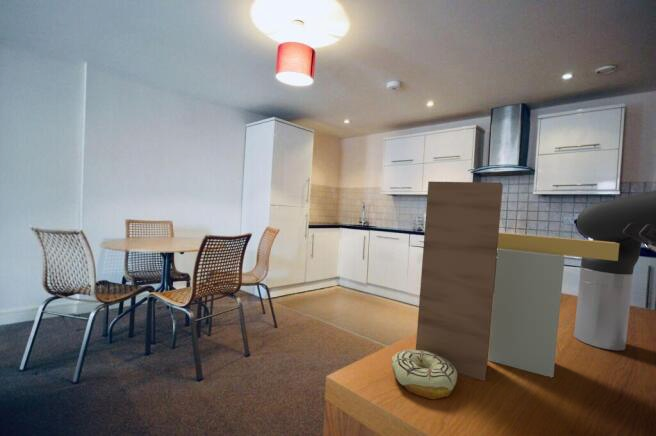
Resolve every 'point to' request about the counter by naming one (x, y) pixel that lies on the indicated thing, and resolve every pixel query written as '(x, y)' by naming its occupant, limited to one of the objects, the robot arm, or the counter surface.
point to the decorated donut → (424, 373)
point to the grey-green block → (526, 310)
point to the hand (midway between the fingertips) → (634, 227)
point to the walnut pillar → (459, 273)
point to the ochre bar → (559, 246)
